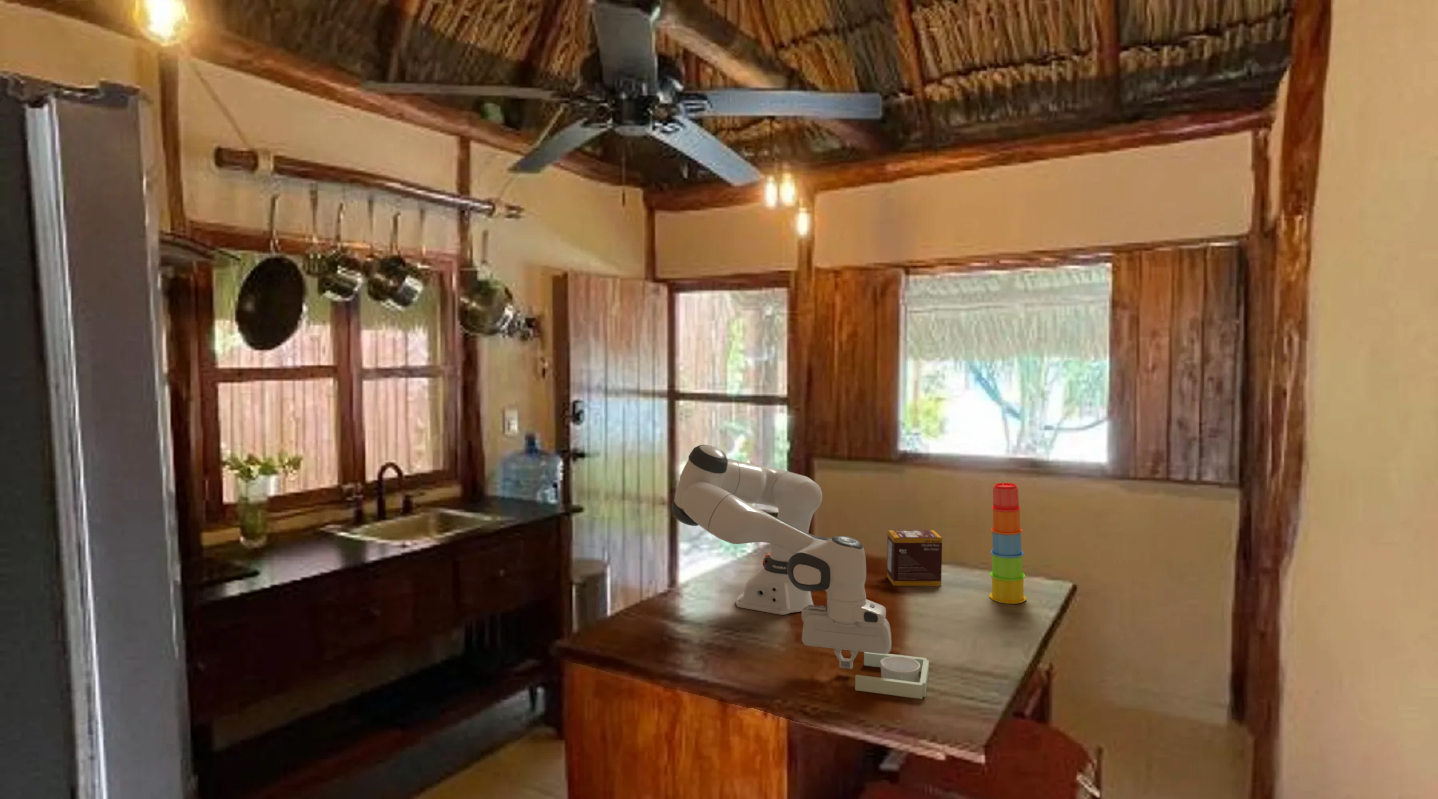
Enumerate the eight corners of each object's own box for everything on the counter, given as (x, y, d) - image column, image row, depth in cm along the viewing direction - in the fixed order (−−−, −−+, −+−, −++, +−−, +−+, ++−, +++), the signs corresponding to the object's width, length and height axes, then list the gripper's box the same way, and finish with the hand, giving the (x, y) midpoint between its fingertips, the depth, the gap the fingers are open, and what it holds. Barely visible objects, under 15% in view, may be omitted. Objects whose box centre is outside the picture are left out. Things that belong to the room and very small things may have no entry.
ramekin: (911, 694, 169) (911, 674, 169) (873, 684, 174) (873, 665, 174) (926, 680, 176) (926, 661, 176) (888, 671, 182) (889, 652, 181)
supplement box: (942, 586, 246) (942, 537, 245) (893, 586, 246) (893, 537, 245) (933, 576, 256) (934, 529, 255) (886, 576, 257) (887, 529, 256)
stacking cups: (1026, 605, 227) (1029, 487, 224) (989, 602, 230) (991, 485, 228) (1025, 595, 236) (1027, 481, 234) (989, 592, 240) (991, 480, 237)
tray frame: (855, 690, 171) (855, 676, 171) (864, 663, 186) (864, 651, 185) (924, 699, 166) (925, 685, 166) (929, 671, 181) (929, 658, 181)
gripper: (798, 608, 179) (798, 667, 180) (889, 617, 173) (889, 678, 173) (804, 599, 185) (804, 656, 186) (892, 608, 179) (892, 667, 179)
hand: (846, 667), depth 180 cm, fingers closed
